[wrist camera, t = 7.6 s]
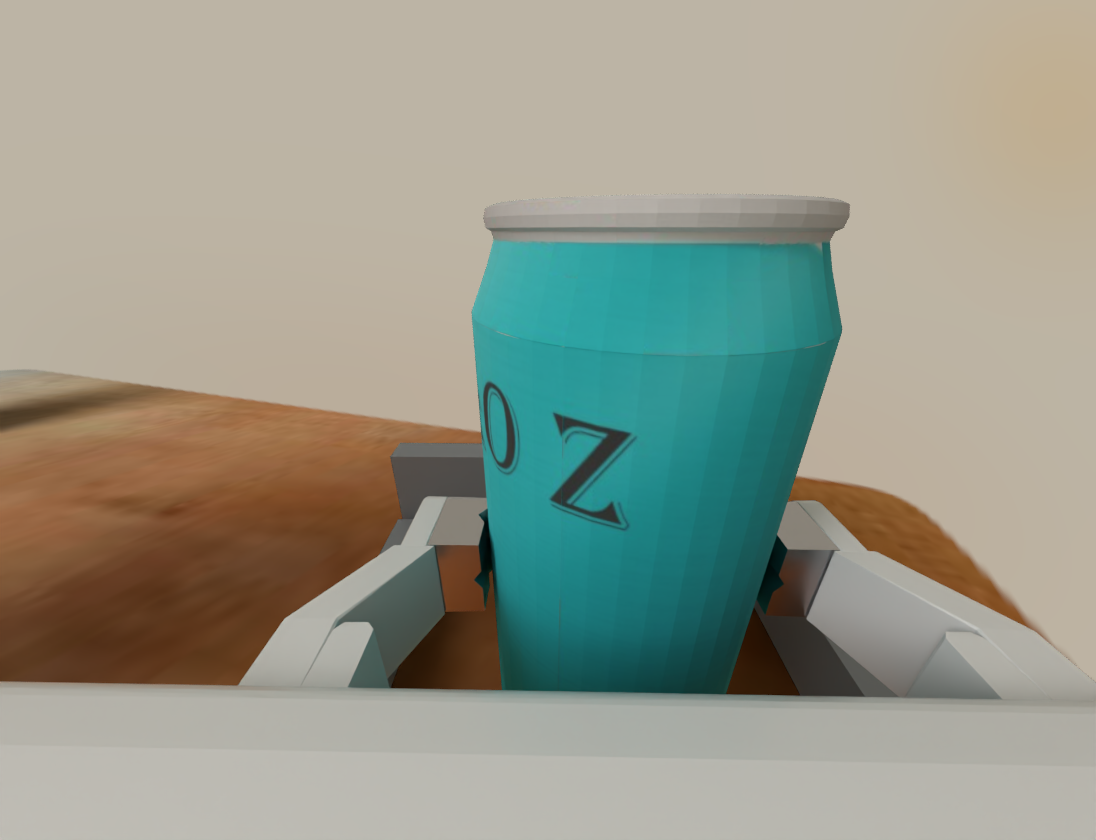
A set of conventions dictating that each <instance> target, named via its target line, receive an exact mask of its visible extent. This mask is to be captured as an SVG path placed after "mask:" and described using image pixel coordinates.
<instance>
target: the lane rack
mask: <svg viewBox="0 0 1096 840" xmlns="http://www.w3.org/2000/svg"><path fill="white" fill-rule="evenodd" d="M390 458H391V463H392V468H393V473H394V478H395V483H396V488H397V493H398V498H399V503H400V508H401V513H402V518H403V519H398V521H397V523H396V525H395V526H394V528H393V530H392V532H391V534H390V536H389V537H388V539H387V541H386V543H385V545H384V547H383V548H382V550H381V552H380V554H382V553H383V552H385V551H386V550H388V549H389V548H391V547H392V546H394V545H401V543H402V541H403V539H404V537H405V535H406V533H407V531H408V529H409V527H410V525H411V523H412V521H413V519H414V517H415V515H416V513H417V511H418V509H419V507H420V505H421V503H422V501H423V499H424V498H426V497H427V496H437V497H475V498H487V497H486V484H485V472H484V460H483V447H482V444H467V443H400V444H399V445H398V447H397V448H396V449H395V451H394V452H393V454H392V455H391V456H390ZM380 554H379V555H380ZM754 608H755V610H756V612H757V614H758V616H759V617H760V619H761V621H762V623H763V625H764V627H765V629H766V631H767V633H768V635H769V636H770V638H771V640H772V642H773V644H774V646H775V648H776V650H777V652H778V654H779V656H780V657H781V659H782V661H783V663H784V665H785V667H786V669H787V671H788V673H789V675H790V676H791V678H792V680H793V682H794V684H795V686H796V688H797V690H798V692H799V694H800V696H848V697H899V696H897V695H896V694H895V693H894V692H893V691H891V690H890V689H889V688H888V687H887V686H885V685H884V684H883V683H882V682H881V681H879V680H878V679H877V678H876V677H875V676H874V675H872V674H871V673H870V672H869V671H868V670H866V669H865V668H864V667H863V666H862V665H860V664H859V663H858V662H857V661H856V660H854V659H853V658H852V657H851V656H850V655H849V654H847V653H846V652H845V651H844V650H843V649H841V648H840V647H839V646H838V645H837V644H835V643H834V642H833V641H832V640H831V639H829V638H828V637H827V636H826V635H825V634H824V633H822V632H821V631H820V630H819V629H818V628H816V627H815V626H814V625H813V624H812V623H810V622H809V621H808V620H807V617H791V616H768V615H765V614H764V612H763V610H762V609H761V607H760V605H759V603H758V601H757V600H756V602H755V605H754ZM397 669H398V667H397ZM397 669H396V670H395V671H394V672H393V673H392V674H391V675H390V676H389V678H388V679H387V680H388V684H389V687H390V688H391V686H392V683H393V680H394V678H395V675H396V672H397Z"/></svg>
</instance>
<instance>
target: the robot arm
mask: <svg viewBox="0 0 1096 840" xmlns="http://www.w3.org/2000/svg"><path fill="white" fill-rule="evenodd" d="M491 570H492V559H491V546H490V534H489V522H488V509H487V498H475V497H437V496H427V497H426V498H424V499H423V501H422V503H421V505H420V507H419V509H418V511H417V513H416V515H415V517H414V519H413V521H412V523H411V525H410V527H409V529H408V531H407V533H406V535H405V537H404V539H403V541H402V543H401V545H394V546H392V547H391V548H389V549H388V550H386V551H385V552H383V553H382V554H380V555H379V556H377V557H376V558H374V559H373V560H371V561H370V562H368V563H367V564H365V565H364V566H362V567H361V568H359V569H358V570H356V571H355V572H353V573H352V574H350V575H349V576H347V577H346V578H344V579H343V580H341V581H340V582H338V583H337V584H335V585H334V586H332V587H331V588H329V589H328V590H326V591H325V592H323V593H322V594H320V595H319V596H317V597H316V598H315V599H313V600H312V601H310V602H309V603H307V604H306V605H304V606H303V607H301V608H300V609H298V610H297V611H295V612H294V613H292V614H291V615H289V616H288V617H286V618H285V619H284V620H283V621H282V623H281V624H280V626H279V627H278V629H277V630H276V631H275V633H274V634H273V636H272V637H271V639H270V640H269V641H268V643H267V644H266V646H265V647H264V649H263V650H262V651H261V653H260V654H259V656H258V657H257V659H256V660H255V661H254V663H253V664H252V666H251V667H250V669H249V670H248V671H247V673H246V674H245V676H244V677H243V679H242V680H241V681H240V683H239V684H238V685H185V684H129V683H70V682H11V681H0V840H1096V682H1095V681H1094V680H1092V679H1091V678H1090V677H1089V676H1088V675H1087V674H1085V673H1084V672H1083V671H1082V670H1081V669H1079V668H1078V667H1077V666H1076V665H1075V664H1073V663H1072V662H1071V661H1070V660H1069V659H1067V658H1066V657H1065V656H1064V655H1063V654H1062V653H1060V652H1059V651H1058V650H1057V649H1056V648H1054V647H1053V646H1052V645H1051V644H1050V643H1048V642H1047V641H1046V640H1045V639H1044V638H1042V637H1041V636H1040V635H1039V634H1038V633H1036V632H1035V631H1033V630H1031V629H1029V628H1027V627H1025V626H1023V625H1021V624H1020V623H1018V622H1016V621H1014V620H1012V619H1010V618H1008V617H1006V616H1004V615H1002V614H1000V613H998V612H996V611H994V610H992V609H990V608H988V607H986V606H984V605H982V604H980V603H978V602H976V601H974V600H972V599H970V598H968V597H966V596H964V595H962V594H960V593H958V592H956V591H954V590H952V589H950V588H948V587H946V586H944V585H942V584H940V583H938V582H936V581H934V580H932V579H930V578H928V577H926V576H924V575H922V574H920V573H918V572H916V571H914V570H912V569H910V568H908V567H906V566H904V565H902V564H900V563H898V562H896V561H894V560H892V559H890V558H888V557H886V556H884V555H882V554H880V553H878V552H876V551H868V550H867V549H866V548H865V547H864V546H863V545H862V544H861V543H860V542H859V541H858V540H857V539H856V538H855V537H854V536H853V535H852V534H851V533H850V532H849V531H848V530H847V529H846V528H845V527H844V526H843V525H842V524H841V523H840V522H839V521H838V520H837V519H836V518H835V517H834V516H833V515H832V514H831V513H830V512H829V511H828V510H827V509H826V508H825V507H824V506H823V505H822V504H821V503H819V502H817V501H815V500H811V501H791V502H787V505H786V508H785V511H784V514H783V517H782V521H781V524H780V527H779V530H778V533H777V536H776V539H775V542H774V546H773V549H772V552H771V555H770V558H769V561H768V564H767V567H766V571H765V574H764V577H763V580H762V583H761V586H760V589H759V592H758V596H757V599H756V600H757V601H758V603H759V605H760V607H761V609H762V610H763V612H764V614H765V615H768V616H791V617H807V620H808V621H809V622H810V623H812V624H813V625H814V626H815V627H816V628H818V629H819V630H820V631H821V632H822V633H824V634H825V635H826V636H827V637H828V638H829V639H831V640H832V641H833V642H834V643H835V644H837V645H838V646H839V647H840V648H841V649H843V650H844V651H845V652H846V653H847V654H849V655H850V656H851V657H852V658H853V659H854V660H856V661H857V662H858V663H859V664H860V665H862V666H863V667H864V668H865V669H866V670H868V671H869V672H870V673H871V674H872V675H874V676H875V677H876V678H877V679H878V680H879V681H881V682H882V683H883V684H884V685H885V686H887V687H888V688H889V689H890V690H891V691H893V692H894V693H895V694H896V695H897V696H899V697H848V696H790V695H733V694H680V693H626V692H573V691H518V690H462V689H407V688H390V687H389V684H388V680H387V679H388V678H389V676H390V675H391V674H392V673H393V672H394V671H395V670H396V669H397V667H398V666H399V665H400V664H401V663H402V662H403V661H404V660H405V658H406V657H407V656H408V655H409V654H410V653H411V652H412V651H413V649H414V648H415V647H416V646H417V645H418V644H419V643H420V642H421V640H422V639H423V638H424V637H425V636H426V635H427V634H428V633H429V631H430V630H431V629H432V628H433V627H434V626H435V625H436V624H437V622H438V621H439V620H440V619H441V618H442V617H443V616H444V615H445V612H452V611H485V607H486V602H487V597H488V591H489V586H490V584H489V572H490V571H491Z"/></svg>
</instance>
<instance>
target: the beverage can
mask: <svg viewBox="0 0 1096 840" xmlns="http://www.w3.org/2000/svg"><path fill="white" fill-rule="evenodd" d="M849 208H850V205H849V204H848V203H846V202H844V201H841V200H838V199H832V198H824V197H809V196H789V195H755V194H753V195H752V194H654V195H611V196H581V197H561V198H543V199H529V200H518V201H509V202H501V203H496V204H493V205H491V206H489V207H487V208H485V212H484V218H483V219H484V223H485V226H486V228H487V229H489V230H490V231H491V232H492V235H493V239H494V241H493V244H492V248H491V252H490V256H489V260H488V264H487V267H486V270H485V273H484V276H483V279H482V282H481V285H480V288H479V291H478V294H477V297H476V300H475V303H474V306H473V310H472V323H473V335H474V348H475V360H476V372H477V385H478V398H479V410H480V422H481V435H482V447H483V460H484V472H485V484H486V497H487V509H488V522H489V534H490V546H491V559H492V571H493V584H494V596H495V608H496V621H497V633H498V646H499V658H500V670H501V683H502V690H518V691H573V692H626V693H680V694H726V692H727V689H728V686H729V683H730V680H731V677H732V674H733V670H734V667H735V664H736V661H737V658H738V655H739V652H740V649H741V645H742V642H743V639H744V636H745V633H746V630H747V627H748V624H749V620H750V617H751V614H752V611H753V608H754V605H755V602H756V599H757V596H758V592H759V589H760V586H761V583H762V580H763V577H764V574H765V571H766V567H767V564H768V561H769V558H770V555H771V552H772V549H773V546H774V542H775V539H776V536H777V533H778V530H779V527H780V524H781V521H782V517H783V514H784V511H785V508H786V505H787V502H788V499H789V496H790V493H791V489H792V486H793V483H794V480H795V477H796V474H797V471H798V468H799V464H800V461H801V458H802V455H803V452H804V449H805V445H806V443H807V439H808V436H809V433H810V430H811V427H812V424H813V421H814V417H815V414H816V411H817V408H818V405H819V402H820V399H821V396H822V393H823V390H824V386H825V383H826V380H827V377H828V374H829V371H830V367H831V365H832V361H833V358H834V355H835V352H836V349H837V346H838V342H839V340H840V336H841V333H842V325H841V319H840V314H839V308H838V301H837V296H836V290H835V284H834V279H833V272H832V262H831V251H830V240H831V238H832V236H833V234H834V233H835V231H838V230H840V229H842V228H844V226H845V224H846V222H847V220H848V218H849V210H850V209H849Z"/></svg>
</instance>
